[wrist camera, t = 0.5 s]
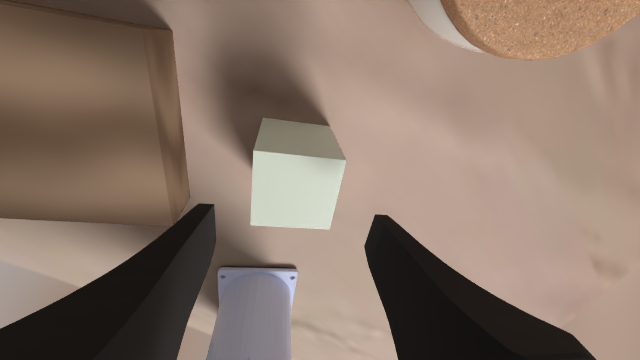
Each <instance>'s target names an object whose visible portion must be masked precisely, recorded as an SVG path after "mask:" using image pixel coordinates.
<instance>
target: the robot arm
mask: <svg viewBox="0 0 640 360" xmlns="http://www.w3.org/2000/svg"><path fill="white" fill-rule="evenodd" d="M215 243H216V231H215V212H214V205H213V204H198V205H196V206H195V207H194V208H193V209H191V210H190V211H189V212H188V213H187V214H186V215H185V216H183V217H182V218H181V219H180V220H179V221H178V222H176V223H175V224H174V225H173V226H172V227H170V228H169V229H168V230H167V231H166V232H164V233H163V234H162V235H161V236H159V237H158V238H157V239H156V240H154V241H153V242H151V243H150V244H149V245H147V246H146V247H145V248H143V249H142V250H141V251H139V252H138V253H137V254H135V255H134V256H132V257H131V258H129V259H128V260H127V261H125V262H124V263H122V264H120V265H119V266H117V267H116V268H114V269H112V270H111V271H109V272H108V273H106V274H104V275H103V276H101V277H99V278H98V279H96V280H94V281H92V282H90V283H89V284H87V285H85V286H83V287H82V288H80V289H78V290H76V291H75V292H73V293H71V294H69V295H67V296H66V297H64V298H62V299H60V300H58V301H56V302H54V303H52V304H50V305H48V306H46V307H45V308H42V309H40V310H39V311H36V312H34V313H32V314H30V315H28V316H26V317H24V318H22V319H20V320H18V321H16V322H14V323H12V324H9V325H7V326H5V327H3V328H1V329H0V360H177V356H178V352H179V349H180V345H181V342H182V339H183V335H184V332H185V328H186V325H187V322H188V319H189V317H190V314H191V311H192V309H193V306H194V304H195V301H196V299H197V296H198V294H199V291H200V289H201V286H202V283H203V281H204V278H205V276H206V273H207V271H208V268H209V265H210V263H211V259H212V255H213V251H214V247H215ZM364 247H365V252H366V257H367V261H368V265H369V268H370V271H371V274H372V277H373V280H374V282H375V285H376V288H377V290H378V293H379V296H380V299H381V301H382V304H383V307H384V309H385V312H386V315H387V318H388V321H389V325H390V329H391V332H392V336H393V340H394V344H395V348H396V352H397V356H398V360H596V359H595V358H594V357H593V356H592V355H591V353H590V352H589V351H588V350H587V349H586V348H585V347H584V346H583V345H582V344H581V343H580V342H579V341H578V340H577V339H576V338H575V337H574V336H573V335H572V334H570V333H568V332H566V331H564V330H562V329H560V328H557V327H555V326H553V325H551V324H549V323H547V322H545V321H542V320H540V319H538V318H536V317H534V316H532V315H530V314H528V313H526V312H524V311H522V310H520V309H518V308H516V307H515V306H513V305H511V304H509V303H507V302H505V301H503V300H502V299H500V298H498V297H496V296H495V295H493V294H491V293H490V292H488V291H486V290H485V289H483V288H481V287H480V286H478V285H476V284H475V283H473V282H472V281H470V280H468V279H467V278H465V277H464V276H463V275H461V274H460V273H458V272H457V271H455V270H454V269H452V268H451V267H450V266H448V265H447V264H445V263H444V262H443V261H442V260H440V259H439V258H438V257H436V256H435V255H434V254H433V253H431V252H430V251H429V250H428V249H426V248H425V247H424V246H423V245H422V244H420V243H419V242H418V241H417V240H416V239H415V238H413V237H412V236H411V235H410V234H409V233H408V232H407V231H405V230H404V229H403V228H402V227H401V226H400V225H399V224H397V223H396V222H395V221H394V220H393V219H391V218H390V217H389V216H388V215H376V214H375V216H374V219H373V222H372V225H371V228H370V231H369V234H368V237H367V240H366V243H365V246H364ZM217 276H218V296H219V310H218V314H217V318H216V322H215V326H214V330H213V334H212V338H211V342H210V346H209V350H208V354H207V358H206V360H291V309H292V303H293V298H294V292H295V287H296V282H297V276H298V271H297V270H296V269H283V268H234V267H221V268H219V269H218V273H217Z"/></svg>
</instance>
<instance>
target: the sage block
mask: <svg viewBox="0 0 640 360" xmlns="http://www.w3.org/2000/svg"><path fill="white" fill-rule="evenodd" d="M345 164H346V158H345V156H344V154H343V152H342V150H341V148H340V146H339V144H338V142H337V140H336V138H335V135H334V133H333V131H332V129H331V127H330V126H324V125H317V124H309V123H301V122H294V121H286V120H278V119H271V118H263V119H262V122H261V126H260V129H259V133H258V136H257V140H256V143H255V147H254V150H253V173H252V198H251V223H250V225H254V226H274V227H293V228H313V229H330V226H331V222H332V218H333V213H334V209H335V205H336V201H337V197H338V193H339V189H340V185H341V181H342V176H343V172H344V168H345Z"/></svg>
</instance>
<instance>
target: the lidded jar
mask: <svg viewBox="0 0 640 360" xmlns="http://www.w3.org/2000/svg"><path fill="white" fill-rule="evenodd" d="M408 2H409V4H410V6H411V8H412V9H413V11H414V13H415V15H416V16H417V17H418V19H419V20H420V21H421V23H422V24H423V25H424V26H425V27H426V28H427V29H429V30H430V31H431V32H432V33H433V34H435V35H436V36H438V37H440V38H441V39H443V40H445V41H446V42H448V43H450V44H453V45H456V46H459V47H462V48H465V49H468V50H471V51H476V52H482V53H489V54H492V55H495V56H498V57H502V58H508V59H519V60H530V61H532V60H543V59H551V58H555V57H558V56H562V55H566V54H569V53H572V52H574V51H576V50H579V49H581V48H584V47H586V46H588V45H590V44H592V43H594V42H596V41H598V40H599V39H601V38H603V37H604V36H606V35H608V34H610V33H611V32H613V31H615V30H616V29H617V28H619V27H620V26H622V25H623V24H625V23H626V22H628V21H629V20H630V19H632V18H633V17H635V16H636V15H637V14H638V13H640V0H408Z"/></svg>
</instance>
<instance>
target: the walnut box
mask: <svg viewBox="0 0 640 360" xmlns="http://www.w3.org/2000/svg"><path fill="white" fill-rule="evenodd" d="M189 198H190V192H189V183H188V173H187V164H186V155H185V145H184V136H183V126H182V117H181V108H180V98H179V89H178V80H177V70H176V61H175V51H174V42H173V33H172V30H167V29H161V28H156V27H150V26H145V25H139V24H134V23H129V22H123V21H118V20H112V19H107V18H101V17H96V16H90V15H85V14H79V13H74V12H68V11H63V10H57V9H52V8H46V7H41V6H35V5H30V4H24V3H19V2H13V1H8V0H0V218H8V219H29V220H50V221H70V222H91V223H112V224H132V225H153V226H173V225H174V224H175V222H176V220H177V219H178V217H179V215H180V213H181V212H182V210H183V208H184V207H185V205H186V203H187V202H188V200H189Z"/></svg>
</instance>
